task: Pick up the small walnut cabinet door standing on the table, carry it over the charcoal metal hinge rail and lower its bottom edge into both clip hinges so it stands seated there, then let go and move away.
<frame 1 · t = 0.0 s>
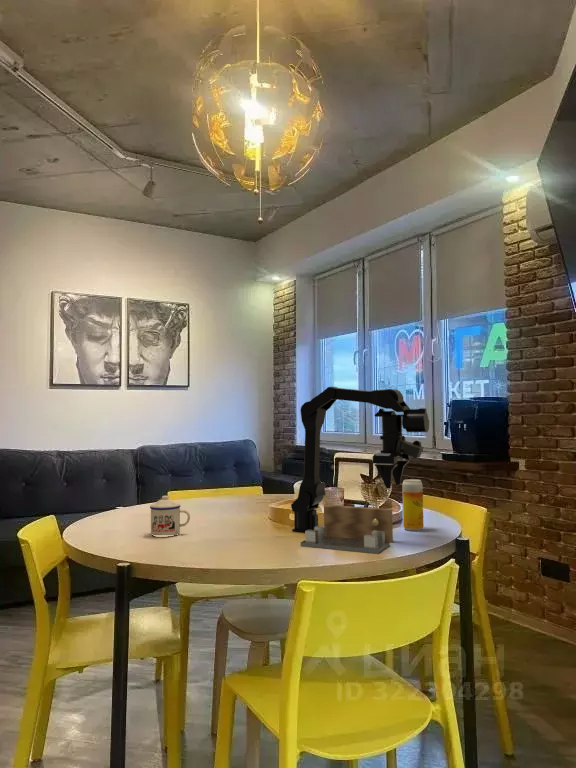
hand: (393, 486, 170), 15 cm above the table, fingers open, 9 cm apart
beer can: (413, 530, 181), on the table
walnut door: (357, 539, 169), on the table
teacup with lid: (170, 535, 179), on the table
hinge rail: (344, 545, 160), on the table
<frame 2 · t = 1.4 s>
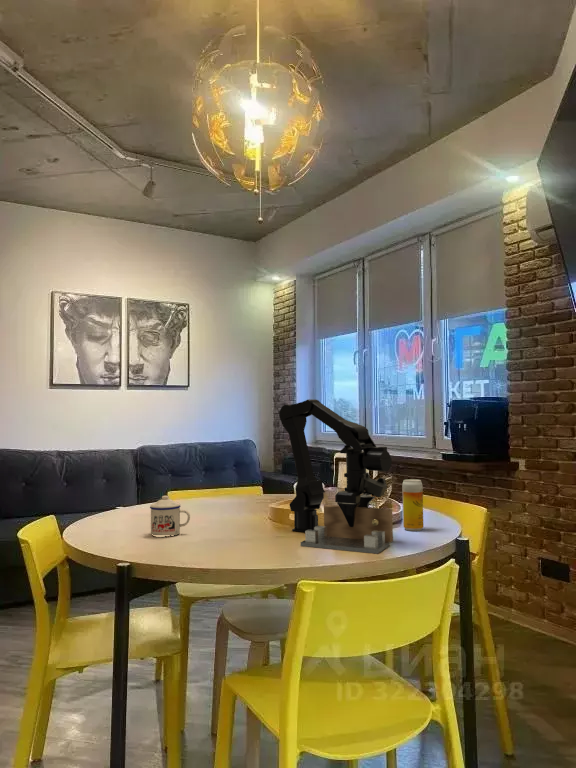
hand: (357, 524, 170), 4 cm above the table, fingers open, 9 cm apart
nothing on the table moved.
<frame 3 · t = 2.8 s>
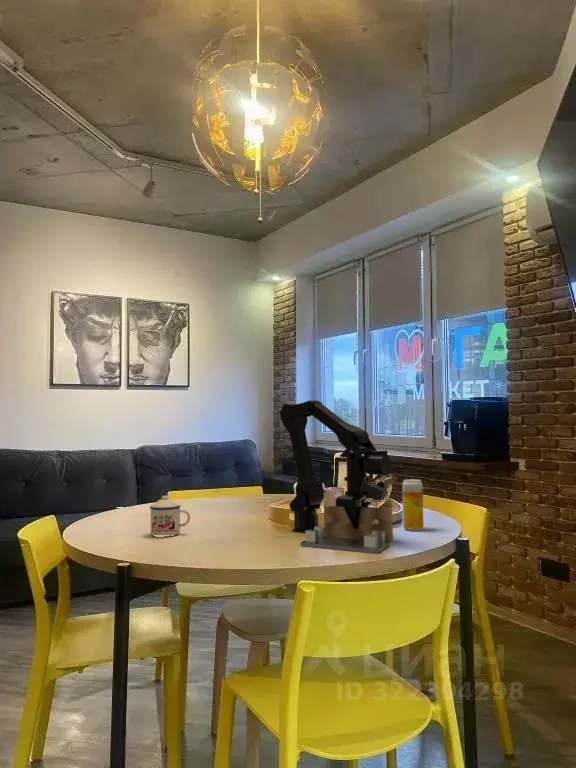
hand: (357, 528, 170), 3 cm above the table, fingers closed on walnut door, 2 cm apart
walnut door: (357, 538, 169), on the table, touching gripper
everything else where it was.
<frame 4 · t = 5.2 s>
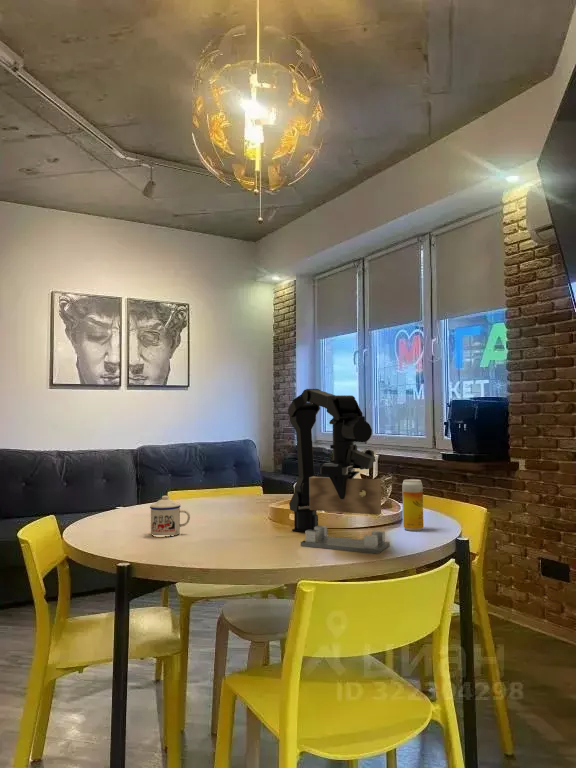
hand: (344, 498, 161), 13 cm above the table, fingers closed on walnut door, 2 cm apart
walnut door: (344, 511, 161), point 9 cm above the table, touching gripper
everything else where it was.
when the fingers open (5 cm above the table, at t = 7.1 s): walnut door stays where it is, resting on hinge rail.
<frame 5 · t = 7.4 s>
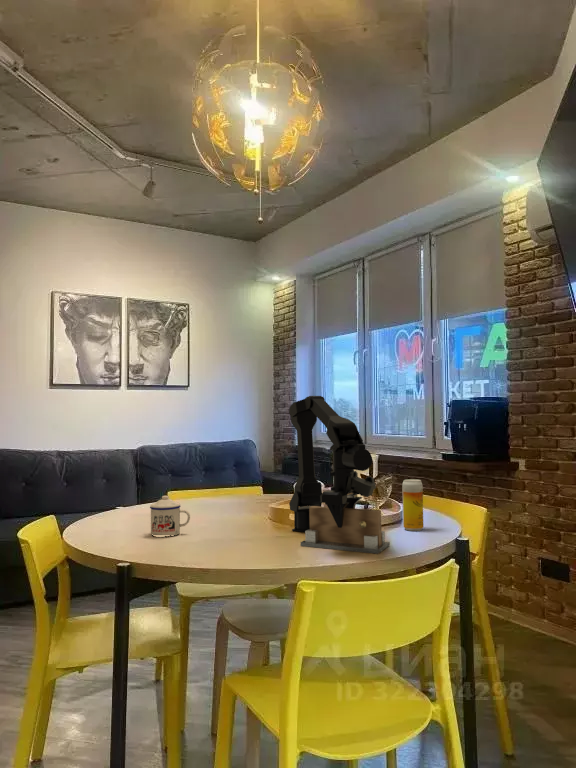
hand: (344, 525, 161), 5 cm above the table, fingers open, 6 cm apart
walnut door: (345, 542, 161), point 1 cm above the table, touching hinge rail
everything else where it was.
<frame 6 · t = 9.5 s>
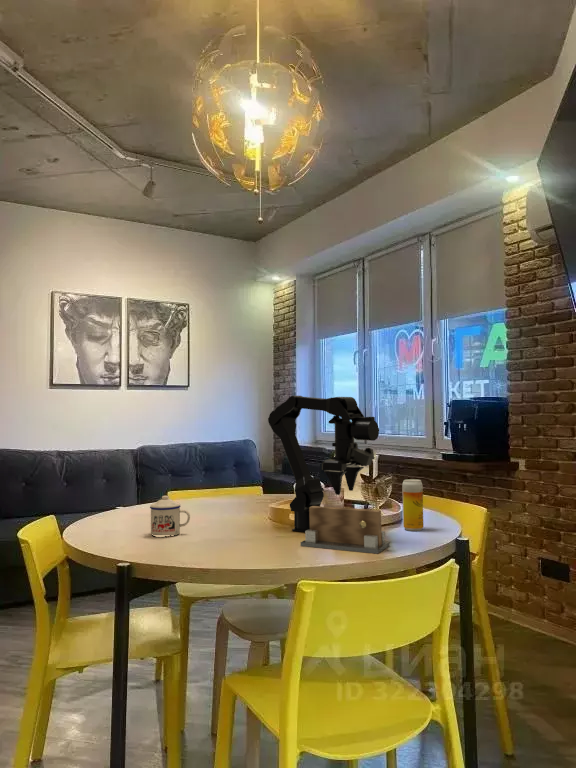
hand: (344, 492, 173), 13 cm above the table, fingers open, 9 cm apart
nothing on the table moved.
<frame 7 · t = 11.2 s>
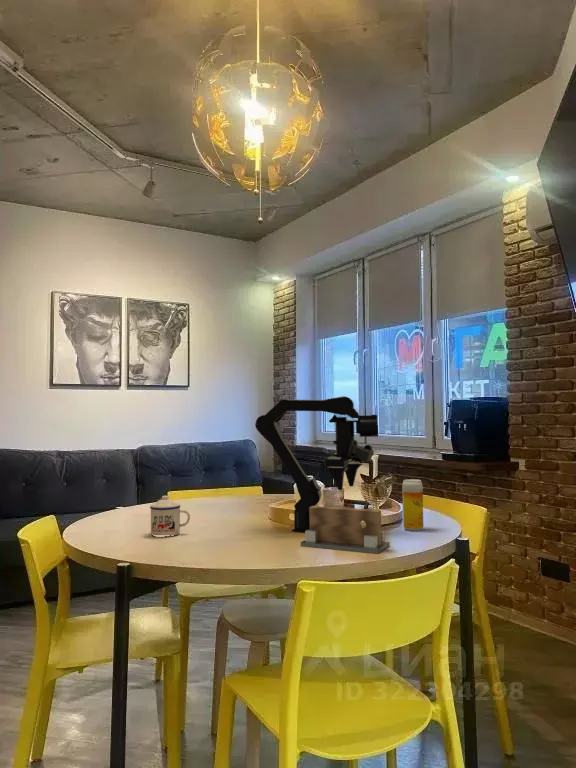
hand: (345, 488, 181), 13 cm above the table, fingers open, 9 cm apart
nothing on the table moved.
at the end: walnut door 0.0 cm off-centre on the hinge rail, point 1.0 cm above the hinge rail's base; walnut door tilted 0°; the gripper is holding nothing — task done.
